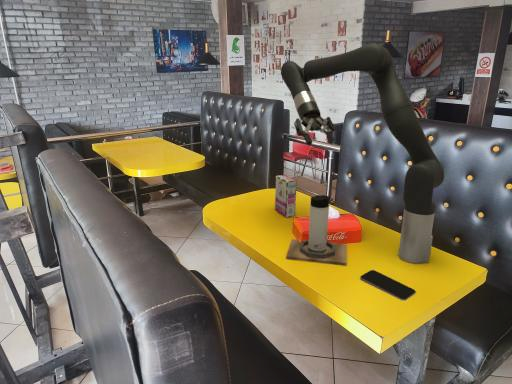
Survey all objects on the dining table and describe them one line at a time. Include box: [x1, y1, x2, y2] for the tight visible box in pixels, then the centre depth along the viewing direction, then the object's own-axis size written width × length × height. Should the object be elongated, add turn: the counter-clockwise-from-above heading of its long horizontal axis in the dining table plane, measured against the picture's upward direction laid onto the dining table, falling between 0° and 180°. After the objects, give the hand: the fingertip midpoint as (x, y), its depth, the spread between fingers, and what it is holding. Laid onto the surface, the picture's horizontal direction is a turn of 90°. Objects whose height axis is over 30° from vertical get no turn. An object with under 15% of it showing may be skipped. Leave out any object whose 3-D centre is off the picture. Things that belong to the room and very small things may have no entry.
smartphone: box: [359, 269, 417, 301], centre depth 110 cm, size 7×1×15 cm
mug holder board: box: [285, 238, 348, 266], centre depth 129 cm, size 20×14×2 cm
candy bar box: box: [274, 174, 298, 219], centre depth 163 cm, size 11×5×16 cm, turn 23°
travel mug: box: [307, 194, 330, 253], centre depth 127 cm, size 6×7×20 cm
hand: (321, 143), depth 129 cm, fingers open, 8 cm apart
